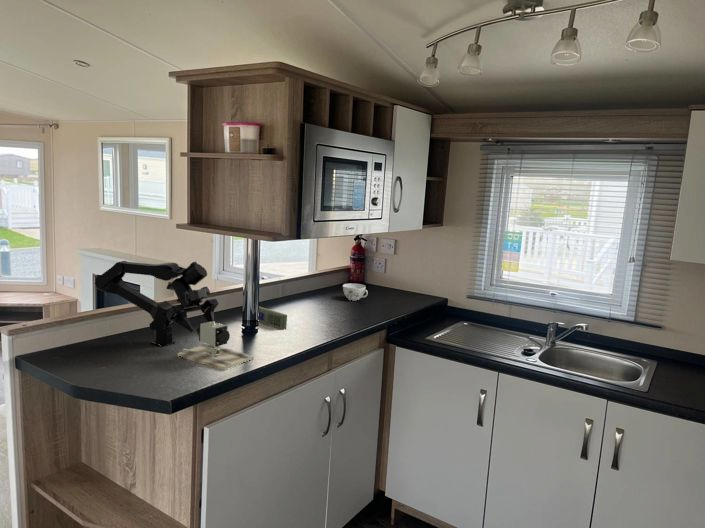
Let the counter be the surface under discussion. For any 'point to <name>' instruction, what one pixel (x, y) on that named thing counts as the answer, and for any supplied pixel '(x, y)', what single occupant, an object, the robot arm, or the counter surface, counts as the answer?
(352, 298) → the teacup
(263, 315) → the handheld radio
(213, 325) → the pneumatic valve
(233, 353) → the mounting panel
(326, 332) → the counter surface
